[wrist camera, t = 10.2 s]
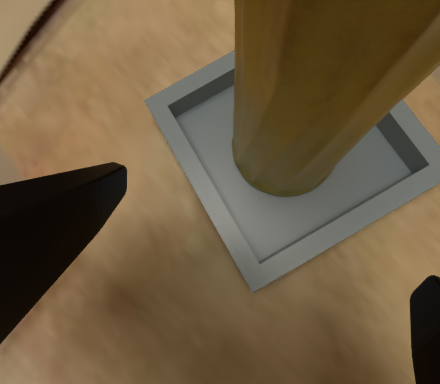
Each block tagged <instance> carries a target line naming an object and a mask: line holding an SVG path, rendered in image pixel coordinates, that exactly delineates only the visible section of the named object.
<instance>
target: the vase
mask: <svg viewBox="0 0 440 384" xmlns="http://www.w3.org/2000/svg"><path fill="white" fill-rule="evenodd" d="M234 4H235V74H234V112H233V138H232V152H233V158H234V162H235V164H236V166H237V168H238V170H239V171H240V173H241V174H242V175H243V177H244V178H245V179H246V180H247V181H248V182H249V183H250V184H251V185H253V186H254V187H256V188H257V189H259V190H261V191H264V192H267V193H270V194H273V195H277V196H295V195H300V194H304V193H307V192H310V191H311V190H313V189H315V188H316V187H318V186H319V185H320V184H322V183H323V182H324V181H325V180H326V179H327V178H328V177H329V175H330V174H331V173H332V171H333V170H334V167H335V165H336V164H337V163H338V162H339V161H340V160H341V159H342V158H343V157H345V156H346V155H347V154H348V153H349V152H350V151H351V150H352V149H353V148H354V147H355V146H356V145H357V143H358V142H359V141H360V140H361V139H362V138H363V137H364V136H365V135H366V134H367V133H368V132H369V131H370V130H371V129H372V128H373V127H374V126H375V125H376V124H378V123H379V122H380V121H381V120H382V119H383V118H384V117H385V116H386V115H387V114H388V113H389V112H390V111H391V110H392V108H394V107H395V106H396V105H397V104H398V103H399V102H400V101H401V100H402V99H403V98H405V97H406V96H407V95H408V94H409V93H410V92H411V91H412V90H413V89H414V88H416V87H417V86H418V85H419V84H420V83H421V82H422V81H423V80H424V79H425V78H426V77H428V76H429V75H430V74H431V73H432V72H433V71H434V70H435V69H436V68H437V67H438V66H439V65H440V0H234Z"/></svg>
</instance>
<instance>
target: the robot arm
mask: <svg viewBox="0 0 440 384" xmlns="http://www.w3.org/2000/svg"><path fill="white" fill-rule="evenodd" d="M126 190H127V169H126V167H125V166H124V165H121V164H118V163H115V162H111V163H106V164H101V165H97V166H92V167H87V168H82V169H77V170H72V171H68V172H63V173H58V174H53V175H48V176H43V177H38V178H34V179H29V180H24V181H19V182H14V183H10V184H5V185H0V344H1V343H2V342H3V340H4V339H5V338H6V337H7V336H8V335H9V334H10V332H11V331H12V330H13V329H14V328H15V327H16V326H17V325H18V323H19V322H20V321H21V320H22V319H23V318H24V317H25V315H26V314H27V313H28V312H29V311H30V310H31V309H32V307H33V306H34V305H35V304H36V303H37V302H38V301H39V300H40V298H41V297H42V296H43V295H44V294H45V293H46V292H47V290H48V289H49V288H50V287H51V286H52V285H53V284H54V282H55V281H56V280H57V279H58V278H59V277H60V276H61V274H62V273H63V272H64V271H65V270H66V269H67V268H68V267H69V265H70V264H71V263H72V262H73V261H74V260H75V259H76V257H77V256H78V255H79V254H80V253H81V252H82V251H83V249H84V248H85V247H86V246H87V245H88V244H89V243H90V242H91V240H92V239H93V238H94V237H95V236H96V235H97V233H98V232H99V231H100V229H101V228H102V227H103V225H104V224H105V223H106V221H107V220H108V218H109V217H110V215H111V214H112V212H113V211H114V210H115V208H116V207H117V205H118V204H119V202H120V201H121V200H122V198H123V197H124V195H125V193H126ZM410 321H411V348H412V359H413V367H414V374H415V381H416V384H440V277H438V276H435V275H431V276H429V277H427V278H426V279H425V280H424V281H423V282H422V283H421V284H420V285H419V286H418V287H417V288H416V289H415V290H414V291H413V293H412V295H411V297H410Z"/></svg>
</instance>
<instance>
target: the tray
mask: <svg viewBox="0 0 440 384" xmlns="http://www.w3.org/2000/svg"><path fill="white" fill-rule="evenodd" d="M234 74H235V50H234V51H232V52H230V53H228V54H227V55H225V56H223V57H221V58H219V59H218V60H216V61H214V62H212V63H210V64H209V65H207V66H205V67H203V68H201V69H200V70H198V71H196V72H194V73H193V74H191V75H189V76H187V77H185V78H184V79H182V80H180V81H178V82H176V83H175V84H173V85H171V86H169V87H167V88H166V89H164V90H162V91H160V92H158V93H157V94H155V95H153V96H151V97H149V98H148V99H146V100H144V101H145V103H146V105H147V106H148V108H149V110H150V112H151V113H152V115H153V117H154V119H155V121H156V122H157V124H158V126H159V128H160V130H161V131H162V133H163V135H164V137H165V138H166V140H167V142H168V144H169V146H170V147H171V149H172V151H173V153H174V154H175V156H176V158H177V160H178V162H179V163H180V165H181V167H182V169H183V170H184V172H185V174H186V176H187V178H188V179H189V181H190V183H191V185H192V186H193V188H194V190H195V192H196V194H197V195H198V197H199V199H200V201H201V203H202V204H203V206H204V208H205V210H206V211H207V213H208V215H209V217H210V219H211V220H212V222H213V224H214V226H215V227H216V229H217V231H218V233H219V235H220V236H221V238H222V240H223V242H224V243H225V245H226V247H227V249H228V251H229V252H230V254H231V256H232V258H233V259H234V261H235V263H236V265H237V267H238V268H239V270H240V272H241V274H242V276H243V277H244V279H245V281H246V283H247V284H248V286H249V288H250V290H251V292H252V293H254V292H255V291H257V290H259V289H261V288H262V287H264V286H266V285H267V284H269V283H271V282H272V281H274V280H276V279H278V278H279V277H281V276H283V275H284V274H286V273H288V272H289V271H291V270H293V269H295V268H296V267H298V266H300V265H301V264H303V263H305V262H306V261H308V260H310V259H312V258H313V257H315V256H317V255H318V254H320V253H322V252H323V251H325V250H327V249H329V248H330V247H332V246H334V245H335V244H337V243H339V242H340V241H342V240H344V239H346V238H347V237H349V236H351V235H352V234H354V233H356V232H357V231H359V230H361V229H363V228H364V227H366V226H368V225H369V224H371V223H373V222H374V221H376V220H378V219H380V218H381V217H383V216H385V215H386V214H388V213H390V212H391V211H393V210H395V209H397V208H398V207H400V206H402V205H403V204H405V203H407V202H408V201H410V200H412V199H414V198H415V197H417V196H419V195H420V194H422V193H424V192H425V191H427V190H429V189H431V188H432V187H434V186H436V185H437V184H439V183H440V146H439V145H438V144H437V142H436V141H435V140H434V139H433V137H432V136H431V135H430V133H429V132H428V131H427V130H426V128H425V127H424V126H423V125H422V123H421V122H420V121H419V120H418V118H417V117H416V116H415V115H414V113H413V112H412V111H411V109H410V108H409V107H408V106H407V104H406V103H405V102H404V101H403V99H402V100H401V101H400V102H399V103H398V104H397V105H396V106H395V107H394V108H392V110H391V111H390V112H389V113H388V114H387V115H386V116H385V117H384V118H383V119H382V120H381V121H380V122H379V123H378V124H376V125H375V126H374V127H373V128H372V129H371V130H370V131H369V132H368V133H367V134H366V135H365V136H364V137H363V138H362V139H361V140H360V141H359V142H358V143H357V145H356V146H355V147H354V148H353V149H352V150H351V151H350V152H349V153H348V154H347V155H346V156H345V157H343V158H342V159H341V160H340V161H339V162H338V163H337V164H336V165H335V167H334V170H333V171H332V173H331V174H330V175H329V177H328V178H327V179H326V180H325V181H324V182H323V183H322V184H320V185H319V186H318V187H316V188H315V189H313V190H311V191H310V192H307V193H304V194H300V195H295V196H277V195H273V194H270V193H267V192H264V191H261V190H259V189H257V188H256V187H254V186H253V185H251V184H250V183H249V182H248V181H247V180H246V179H245V178H244V177H243V175H242V174H241V173H240V171H239V170H238V168H237V166H236V164H235V162H234V158H233V152H232V138H233V112H234Z"/></svg>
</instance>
